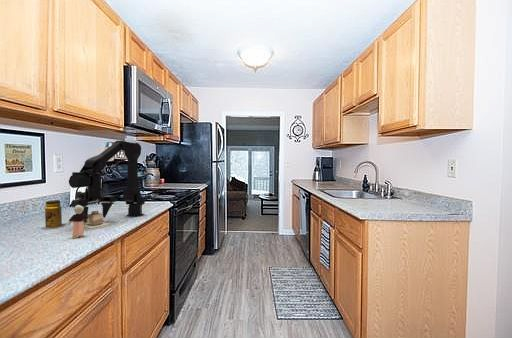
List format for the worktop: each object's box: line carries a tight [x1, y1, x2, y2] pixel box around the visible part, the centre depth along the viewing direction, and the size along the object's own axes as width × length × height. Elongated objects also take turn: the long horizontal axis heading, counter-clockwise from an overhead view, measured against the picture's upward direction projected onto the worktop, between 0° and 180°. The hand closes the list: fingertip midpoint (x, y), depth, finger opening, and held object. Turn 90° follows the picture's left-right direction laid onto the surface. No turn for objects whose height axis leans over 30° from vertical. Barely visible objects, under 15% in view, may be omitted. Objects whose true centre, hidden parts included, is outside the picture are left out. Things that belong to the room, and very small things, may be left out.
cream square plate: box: [84, 220, 117, 231], centre depth 130 cm, size 13×12×1 cm
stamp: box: [86, 210, 104, 226], centre depth 130 cm, size 4×4×6 cm
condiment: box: [42, 199, 68, 230], centre depth 128 cm, size 7×8×12 cm
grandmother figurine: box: [66, 205, 90, 239], centre depth 110 cm, size 8×4×13 cm, turn 148°
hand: (95, 219), depth 130 cm, fingers open, 9 cm apart
